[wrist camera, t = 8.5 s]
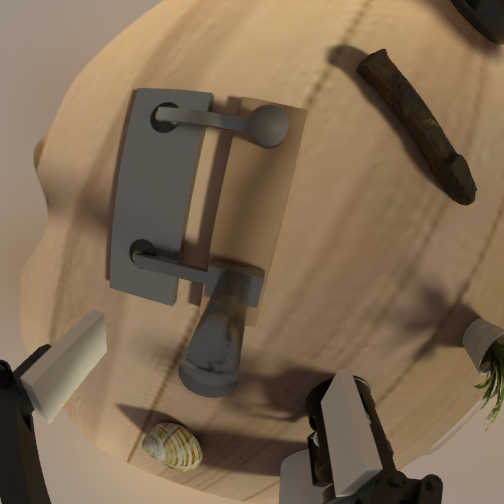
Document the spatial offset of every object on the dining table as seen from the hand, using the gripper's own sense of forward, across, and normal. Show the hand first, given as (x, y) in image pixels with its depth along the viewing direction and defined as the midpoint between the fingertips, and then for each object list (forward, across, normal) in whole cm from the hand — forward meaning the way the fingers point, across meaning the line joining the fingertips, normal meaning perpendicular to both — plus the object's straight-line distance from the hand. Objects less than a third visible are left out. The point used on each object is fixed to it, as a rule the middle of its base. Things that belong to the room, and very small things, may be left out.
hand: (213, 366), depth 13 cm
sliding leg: (+13, -4, 0) cm, 14 cm away
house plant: (+16, +35, -2) cm, 38 cm away
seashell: (+15, -4, -31) cm, 35 cm away
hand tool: (+16, +15, +19) cm, 29 cm away
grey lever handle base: (+15, -4, +6) cm, 17 cm away
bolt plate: (+15, -10, +6) cm, 19 cm away
